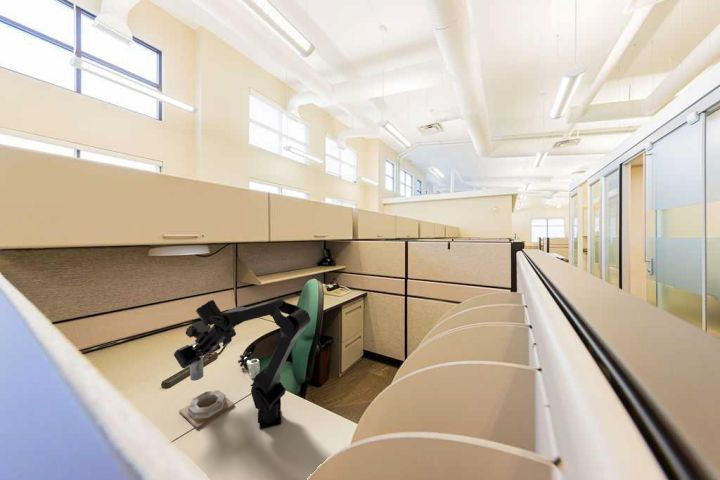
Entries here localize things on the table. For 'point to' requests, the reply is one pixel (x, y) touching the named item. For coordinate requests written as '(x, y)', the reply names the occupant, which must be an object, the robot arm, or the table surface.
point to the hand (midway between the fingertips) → (193, 358)
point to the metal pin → (196, 368)
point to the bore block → (206, 408)
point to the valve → (250, 364)
